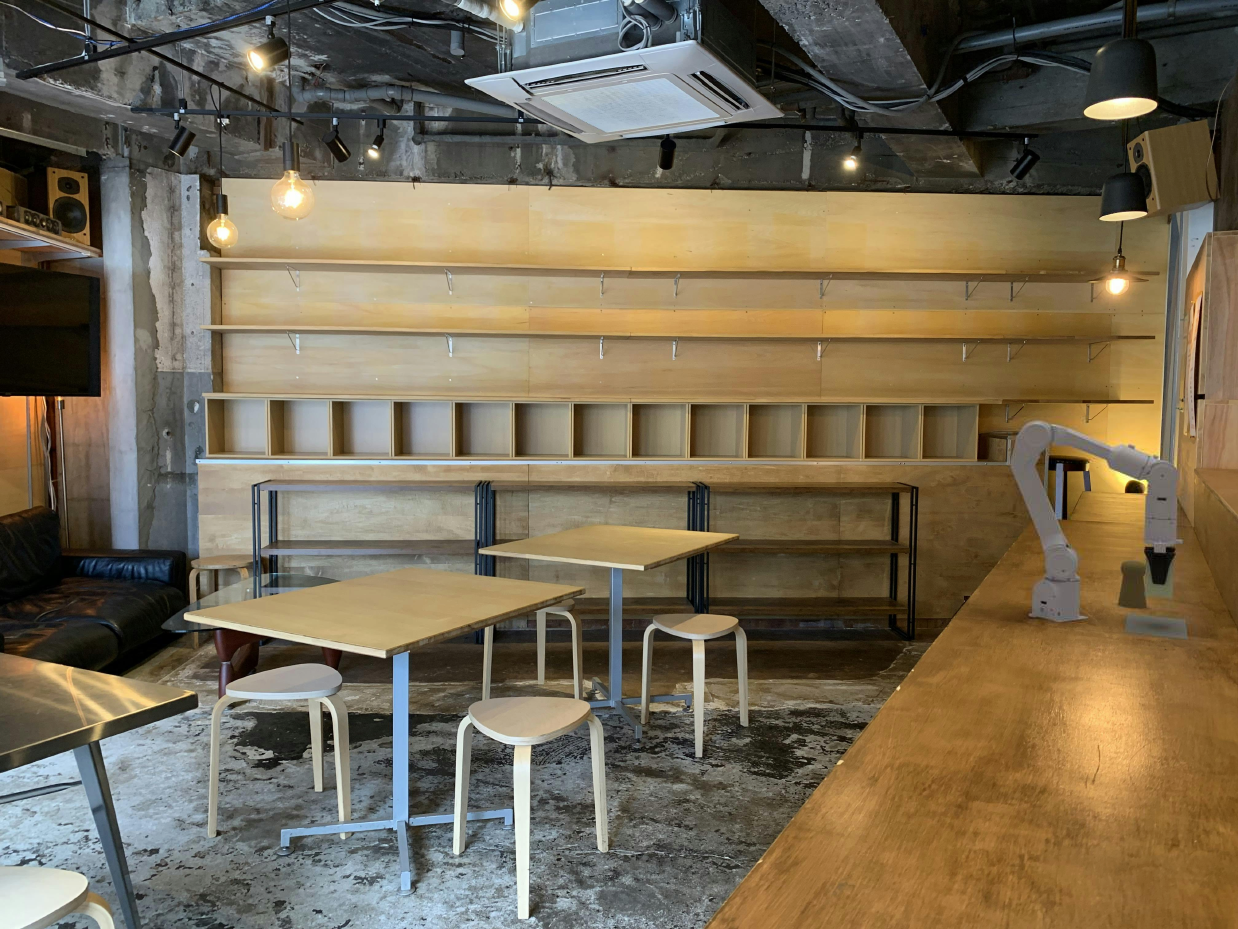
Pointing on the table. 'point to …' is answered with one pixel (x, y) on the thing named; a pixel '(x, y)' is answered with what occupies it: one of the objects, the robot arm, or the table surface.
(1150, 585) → the block
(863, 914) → the table surface
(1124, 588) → the cork
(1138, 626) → the mat
